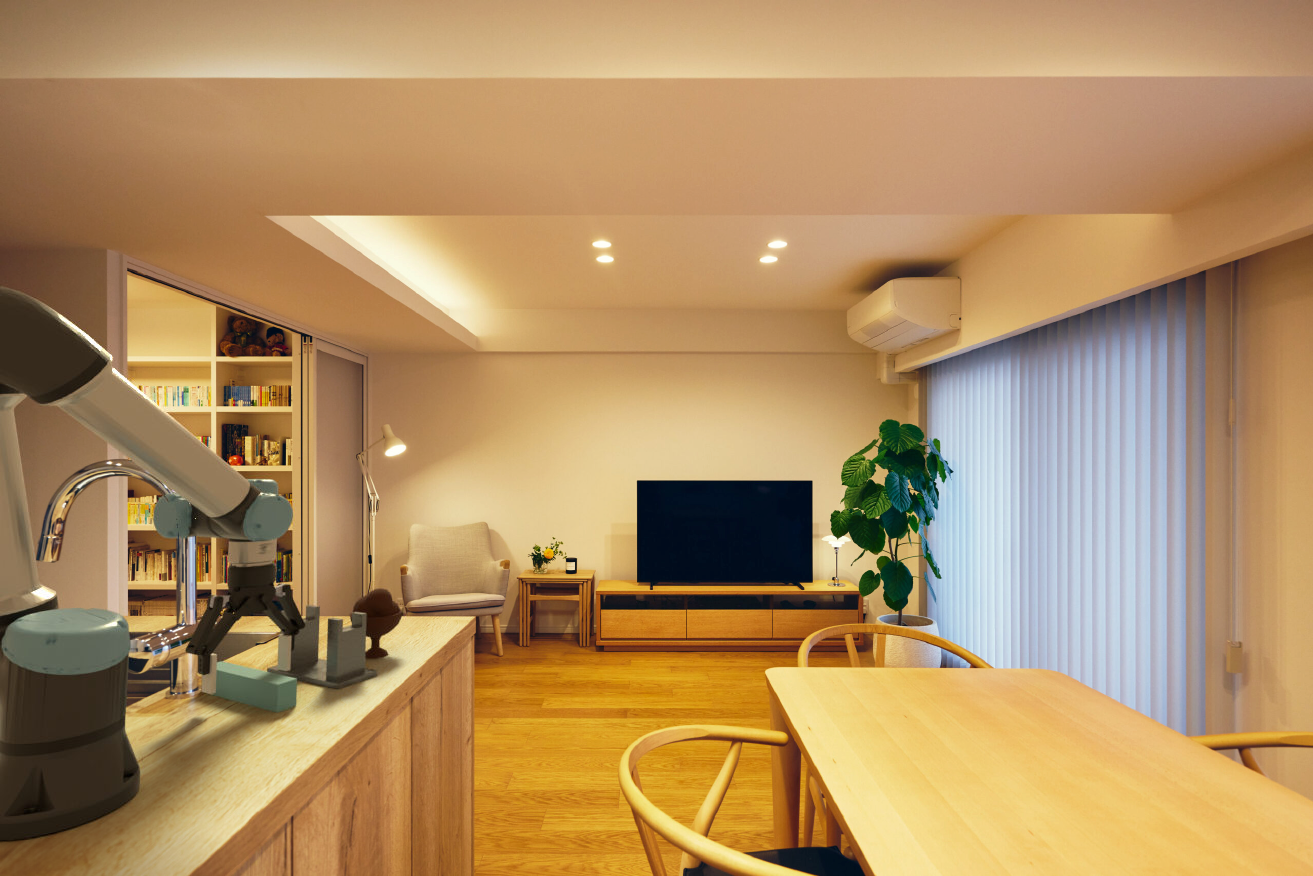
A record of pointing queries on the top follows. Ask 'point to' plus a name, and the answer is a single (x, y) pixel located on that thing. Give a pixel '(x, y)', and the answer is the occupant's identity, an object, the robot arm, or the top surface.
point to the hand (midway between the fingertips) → (248, 680)
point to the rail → (255, 687)
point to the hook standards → (329, 652)
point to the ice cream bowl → (378, 618)
